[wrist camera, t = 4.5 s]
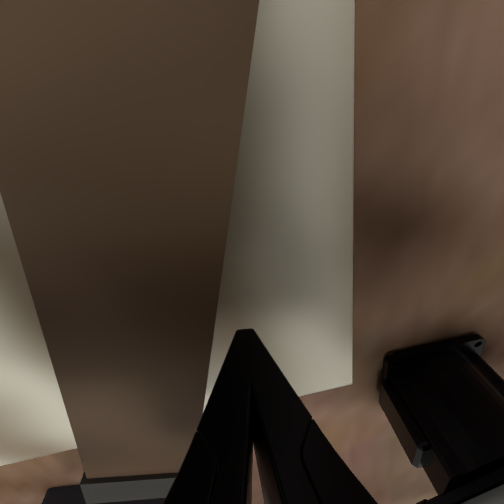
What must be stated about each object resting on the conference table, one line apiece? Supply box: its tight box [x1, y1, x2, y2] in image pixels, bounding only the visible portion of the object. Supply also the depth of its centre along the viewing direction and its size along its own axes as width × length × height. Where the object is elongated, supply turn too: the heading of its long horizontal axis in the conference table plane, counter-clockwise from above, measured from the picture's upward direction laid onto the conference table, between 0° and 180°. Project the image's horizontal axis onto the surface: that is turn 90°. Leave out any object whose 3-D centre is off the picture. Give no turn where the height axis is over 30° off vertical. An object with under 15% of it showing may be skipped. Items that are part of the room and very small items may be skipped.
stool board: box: [0, 0, 355, 466], centre depth 10 cm, size 22×23×3 cm
